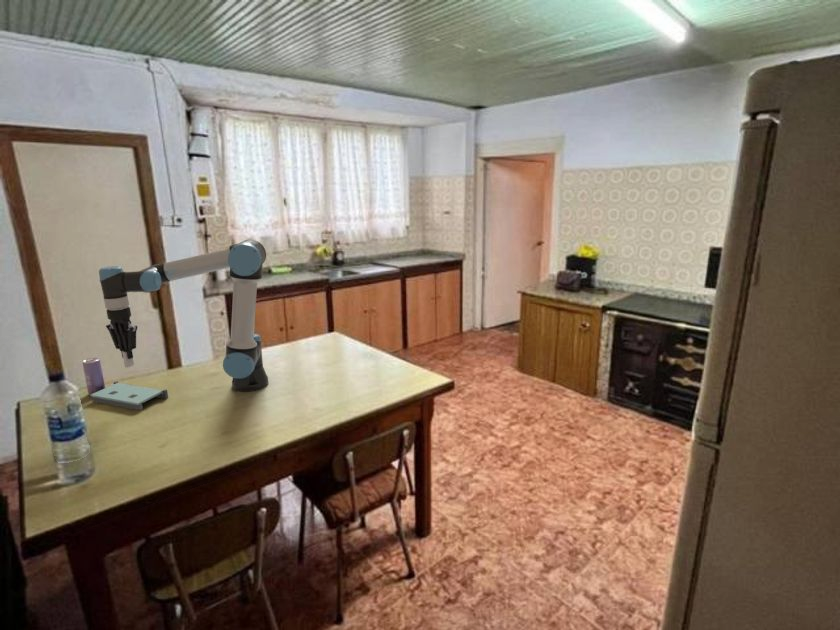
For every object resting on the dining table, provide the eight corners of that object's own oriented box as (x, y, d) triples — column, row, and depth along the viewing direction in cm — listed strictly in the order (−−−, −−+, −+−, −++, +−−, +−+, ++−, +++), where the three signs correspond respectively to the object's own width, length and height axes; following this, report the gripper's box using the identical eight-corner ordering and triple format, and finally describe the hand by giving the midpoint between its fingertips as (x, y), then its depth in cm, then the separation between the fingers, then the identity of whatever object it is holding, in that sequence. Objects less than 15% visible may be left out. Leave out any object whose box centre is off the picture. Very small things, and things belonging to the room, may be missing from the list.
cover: (164, 391, 187) (164, 389, 187) (138, 405, 176) (137, 403, 176) (118, 384, 194) (118, 382, 194) (90, 396, 182) (90, 394, 182)
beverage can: (109, 391, 192) (103, 358, 188) (95, 397, 187) (88, 363, 183) (99, 389, 194) (93, 356, 190) (85, 395, 189) (78, 361, 185)
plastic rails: (168, 397, 188) (167, 389, 187) (143, 411, 177) (142, 402, 176) (117, 389, 195) (116, 381, 194) (90, 401, 184) (89, 393, 183)
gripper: (140, 306, 173) (150, 364, 180) (113, 304, 177) (124, 361, 183) (122, 311, 166) (134, 371, 173) (95, 309, 170) (107, 368, 176)
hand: (129, 366), depth 178 cm, fingers closed
